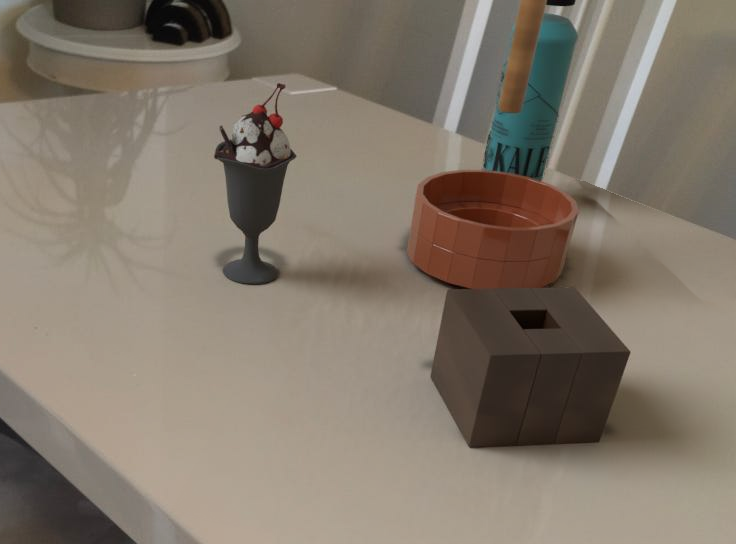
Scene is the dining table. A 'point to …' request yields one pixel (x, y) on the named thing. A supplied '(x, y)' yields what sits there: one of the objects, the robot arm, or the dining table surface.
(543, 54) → the beverage bottle
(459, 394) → the holder
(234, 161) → the sundae
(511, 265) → the bowl
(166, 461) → the dining table surface
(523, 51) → the stick
